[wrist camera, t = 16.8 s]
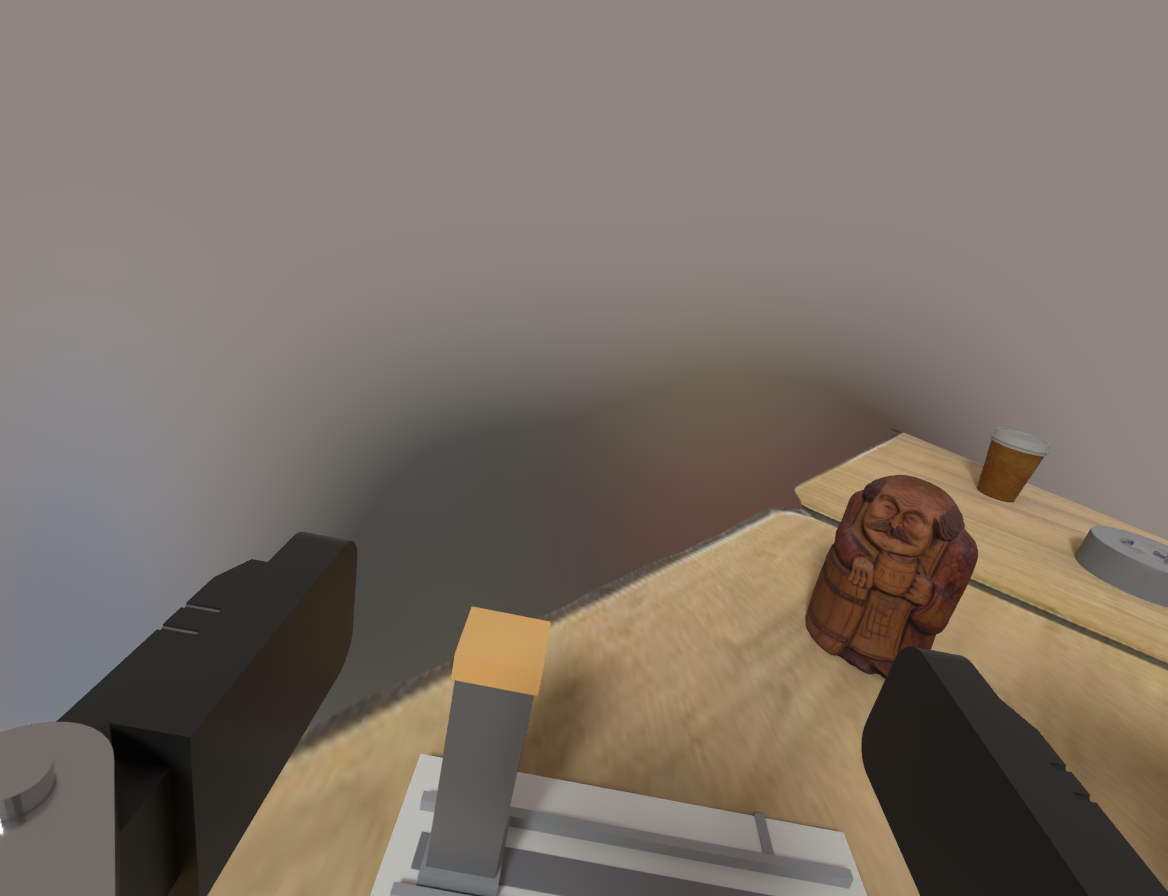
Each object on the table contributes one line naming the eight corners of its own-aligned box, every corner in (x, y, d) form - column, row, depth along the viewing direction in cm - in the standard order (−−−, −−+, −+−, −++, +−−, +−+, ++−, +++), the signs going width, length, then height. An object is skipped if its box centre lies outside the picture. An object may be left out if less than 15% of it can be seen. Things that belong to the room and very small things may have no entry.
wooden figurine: (786, 630, 62) (848, 464, 55) (809, 607, 66) (869, 453, 60) (910, 701, 55) (996, 522, 49) (926, 671, 60) (1007, 504, 54)
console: (834, 839, 40) (845, 818, 40) (929, 1104, 28) (947, 1079, 28) (420, 762, 39) (424, 738, 39) (336, 1001, 27) (339, 973, 27)
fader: (507, 827, 35) (553, 618, 30) (495, 900, 31) (544, 675, 26) (437, 814, 35) (471, 602, 30) (416, 886, 31) (450, 657, 26)
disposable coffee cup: (1012, 492, 122) (1039, 435, 118) (1032, 511, 113) (1063, 450, 109) (960, 478, 124) (986, 422, 119) (977, 496, 115) (1005, 436, 111)
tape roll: (1220, 606, 90) (1240, 576, 88) (1177, 620, 83) (1198, 588, 81) (1101, 549, 102) (1117, 522, 101) (1055, 557, 95) (1071, 528, 93)
